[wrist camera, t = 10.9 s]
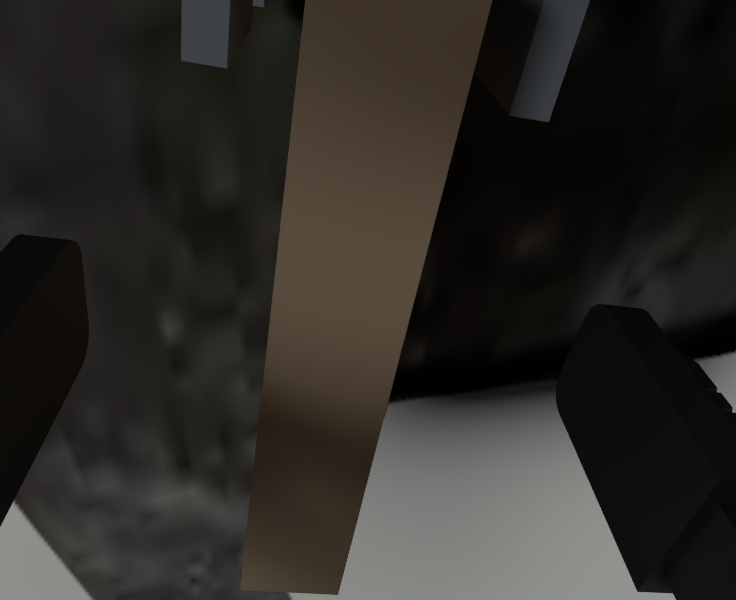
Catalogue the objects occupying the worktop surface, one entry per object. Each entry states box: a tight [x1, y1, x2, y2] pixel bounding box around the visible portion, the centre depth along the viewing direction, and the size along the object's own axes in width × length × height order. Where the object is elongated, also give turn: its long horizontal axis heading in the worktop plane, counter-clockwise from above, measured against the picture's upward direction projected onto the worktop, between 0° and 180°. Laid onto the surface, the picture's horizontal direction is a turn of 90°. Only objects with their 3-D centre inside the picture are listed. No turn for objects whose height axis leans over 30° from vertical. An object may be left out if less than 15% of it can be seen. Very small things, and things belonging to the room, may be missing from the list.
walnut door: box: [240, 0, 492, 595], centre depth 14 cm, size 12×3×11 cm, turn 170°
